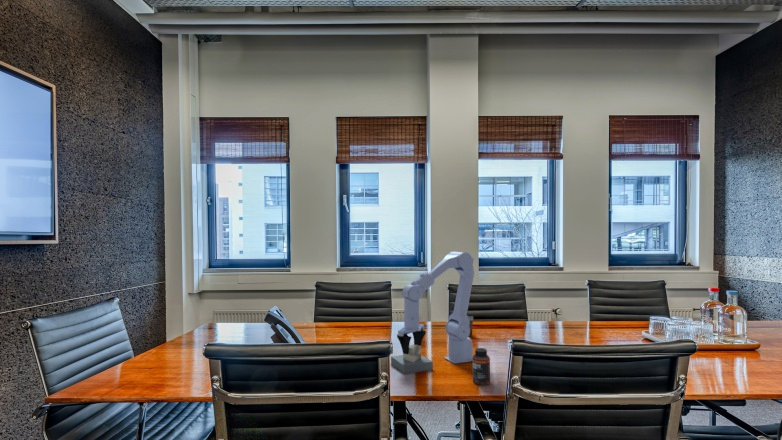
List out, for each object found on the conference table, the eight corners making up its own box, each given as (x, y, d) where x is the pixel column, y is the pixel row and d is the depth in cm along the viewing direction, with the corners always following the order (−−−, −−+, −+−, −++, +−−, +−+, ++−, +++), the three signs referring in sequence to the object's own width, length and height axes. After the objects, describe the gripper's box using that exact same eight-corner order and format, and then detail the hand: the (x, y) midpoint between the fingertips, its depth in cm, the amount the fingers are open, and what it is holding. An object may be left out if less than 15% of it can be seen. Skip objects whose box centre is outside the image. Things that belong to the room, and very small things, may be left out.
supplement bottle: (487, 379, 144) (487, 347, 144) (492, 385, 138) (492, 352, 138) (470, 379, 143) (470, 347, 144) (474, 385, 138) (474, 352, 138)
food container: (451, 331, 212) (451, 312, 213) (462, 330, 214) (462, 311, 215) (462, 337, 201) (462, 317, 201) (473, 336, 203) (473, 316, 203)
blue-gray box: (418, 360, 164) (418, 352, 164) (432, 369, 153) (432, 361, 153) (391, 364, 159) (391, 356, 160) (404, 374, 148) (404, 365, 149)
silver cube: (410, 356, 160) (410, 343, 160) (421, 358, 157) (421, 345, 157) (403, 359, 156) (403, 346, 156) (413, 362, 153) (413, 348, 153)
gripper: (408, 320, 149) (408, 357, 148) (430, 314, 160) (430, 349, 160) (393, 317, 153) (393, 354, 153) (416, 312, 165) (416, 345, 164)
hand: (411, 351), depth 157 cm, fingers open, 7 cm apart
